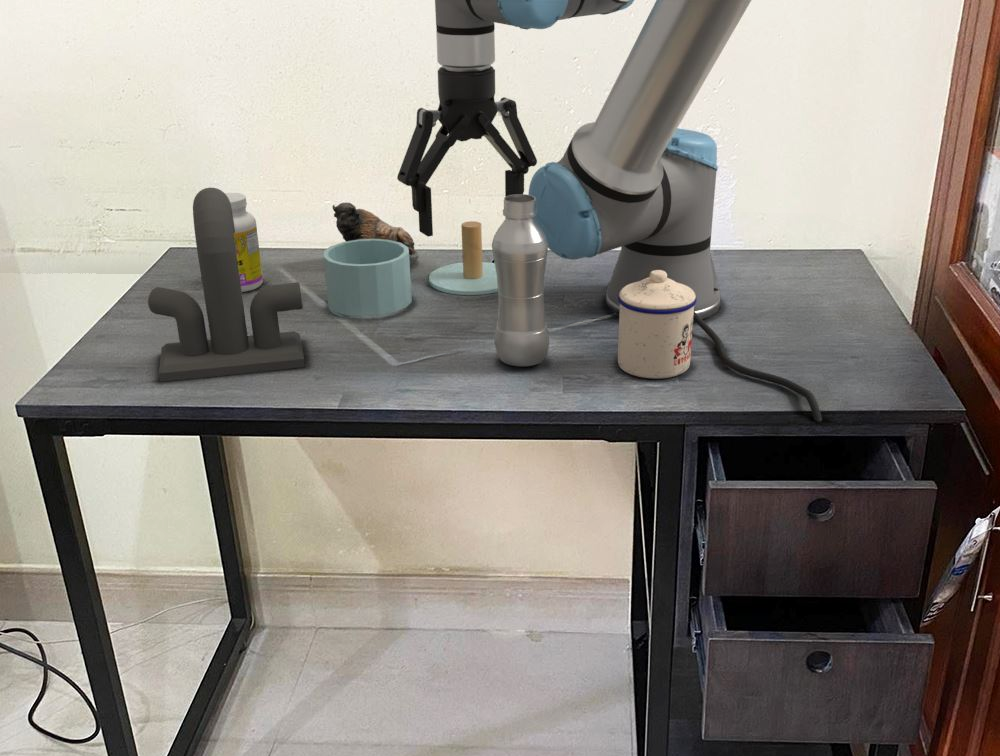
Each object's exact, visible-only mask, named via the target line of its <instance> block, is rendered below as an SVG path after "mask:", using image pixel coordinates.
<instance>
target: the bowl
mask: <svg viewBox="0 0 1000 756" xmlns="http://www.w3.org/2000/svg"><path fill="white" fill-rule="evenodd" d="M322 257H323V258H322V259H323V269H324V278H325V280H324V281H325V287H326V300H327V307H328V310H329V312H331V314H333V315H335V316H337V317H339V318H343V319H346V317H345V316H353V317H377V316H383V315H389V314H393V313H396V312H398V311H399V312H400V311H401V310H403V309H406V308H407V307H408V306H409V305H410V304H412V302H413V298H412V281H411V279H412V278H411V264H410V262H409V249H408V247H407V246H405V245H404V244H402V243H400V242H396V241H392V240H384V239H359V240H352V241H347V242H346V241H342V242H340V243H336V244H333V245H330V246H329V247H328V248H326V249H324V251H323V256H322Z"/></svg>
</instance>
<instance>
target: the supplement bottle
mask: <svg viewBox="0 0 1000 756" xmlns="http://www.w3.org/2000/svg"><path fill="white" fill-rule="evenodd" d="M224 193H225V194H226V195H227V197H228V198H229V201H230V203H231V208H232V214H233V221H234V227H235V233H234V240H235V248H236V255H237V262H238V270H239V277H240V284H241V291H242V293H246V292H250V291H251V292H252V291H254V290H256V289H259V287H260V286H262V284H263V282H264V277H263V269H262V268H263V267H262V261H261V260H262V259H261V251H260V245H259V244H260V243H259V236H258V235H259V234H258V226H257V221H256V218H255V216H254V215H253V214H252V213H251V212H249V211H247V209H246V208H247V205H248V202H247V196H246V195H245V194H243V193H239V192H224Z"/></svg>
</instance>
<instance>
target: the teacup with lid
mask: <svg viewBox="0 0 1000 756" xmlns="http://www.w3.org/2000/svg"><path fill="white" fill-rule="evenodd" d="M618 301H619V303H620V314H619V315H618V317H619V318H618V344H617V345H618V346H617V348H618V349H617V363H618V364H617V365H618V366H619V368H620V369H621V370H622V371H624V372H625V373H626V374H629V375H631V376H634V377H638V378H643V379H654V380H655V379H656V380H657V379H658V380H660V379H669V378H675V377H677V376H680V375H682V374H684V373H685V372H686V371H688V369H689V368H690V365H691V356H692V340H693V327H694V326H693V325H694V322H693V314H694V305H695V304H696V301H697V299H696V295H695V293H694V291H693V290H692V289H691V288H690V287H688V286H686V285H684V284H681V283H677V282H675V281H673V280H671V279H669V278H667V273H666V272H665V271H663V270H654V271H652V272H651V273H650V277H649V278H646V279H643V280H641V281H638V282H634V283H631V284H629V285H627V286H625V287H624V288H623V289H622V290H621V291H620V293H619V296H618Z"/></svg>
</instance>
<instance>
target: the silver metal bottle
mask: <svg viewBox="0 0 1000 756" xmlns="http://www.w3.org/2000/svg"><path fill="white" fill-rule="evenodd" d="M502 215H503V216H504V220H503V221H502V223H501V224H500V225H499V227H497V229H496V231H495V233H494V235H493V239H492V241H491V251H492V257H493V263H495V269H496V274H497V285H498V289H499V290H498V292H497V293H498V294H497V297H498V302H497V303H498V304H497V321H496V322H497V323H496V328H495V333H494V347H495V353H496V355H497V357H498V358H499V360H500V361H501V362H502V363H504V364H506V365H509V366H513V367H514V366H515V367H531V366H536V365H539V364H541V363H543V361H544V360H545V359H546V357H547V356H548V354H549V349H550V336H549V330H548V326H547V322H546V311H545V300H544V295H545V290H544V288H545V274H546V267H547V259H548V258H547V257H548V251H549V248H548V241H547V238H546V235H545V234H544V232H543V230H542V229H541V227H540V226H539V224H538V223H537V222H536V220H535V218H534V216H536V215H537V209H536V198H535V197H534V196H531V195H528V194H524V193H523V194H515V195H509V196H506V197H505V196H504V197H503V209H502Z"/></svg>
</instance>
